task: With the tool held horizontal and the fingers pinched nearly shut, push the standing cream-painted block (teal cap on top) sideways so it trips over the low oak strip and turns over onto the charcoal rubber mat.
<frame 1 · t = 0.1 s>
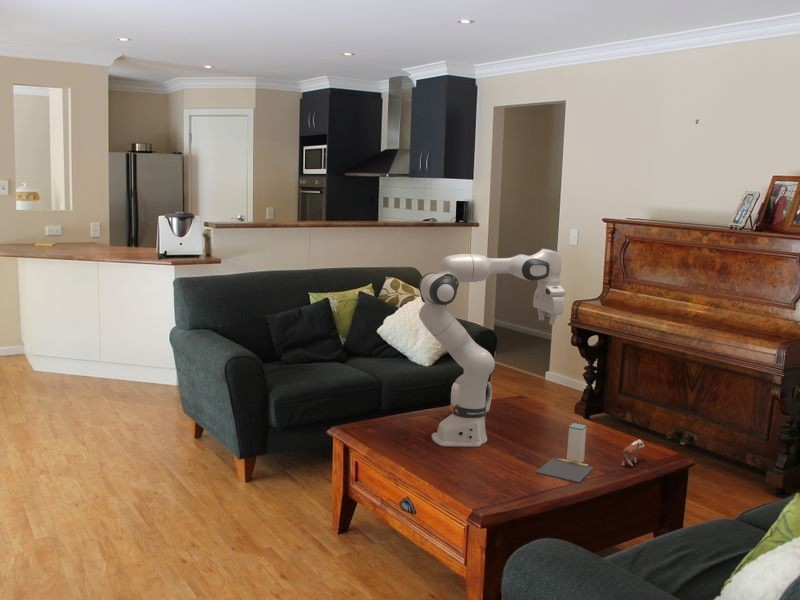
hand: (546, 322, 314), 48 cm above the table, tool pointing down, fingers open, 8 cm apart
cream block: (575, 461, 292), on the table
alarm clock: (470, 416, 344), on the table
charcoal rubber mat: (565, 470, 282), on the table
bull figurine: (631, 463, 293), on the table
oak stop strip: (572, 464, 289), resting on charcoal rubber mat
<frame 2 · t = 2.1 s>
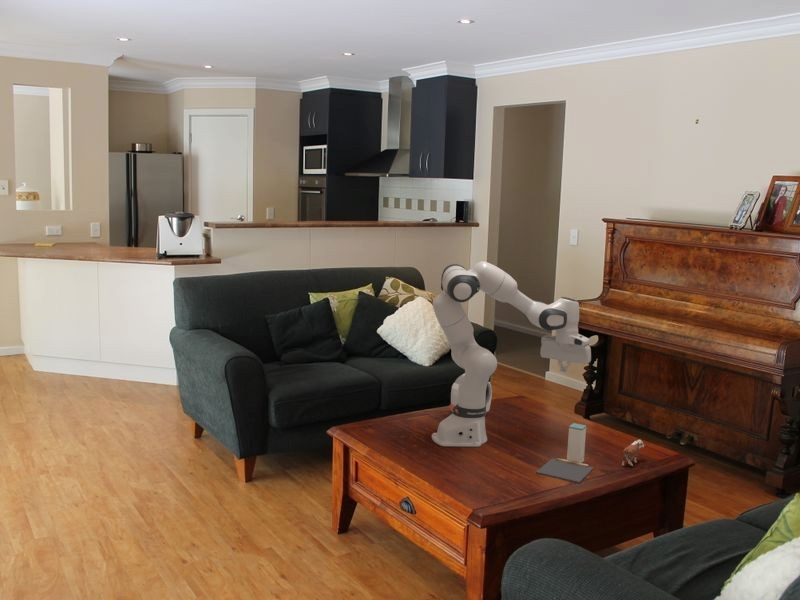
hand: (564, 371, 311), 29 cm above the table, tool pointing down, fingers closed
nothing on the table moved.
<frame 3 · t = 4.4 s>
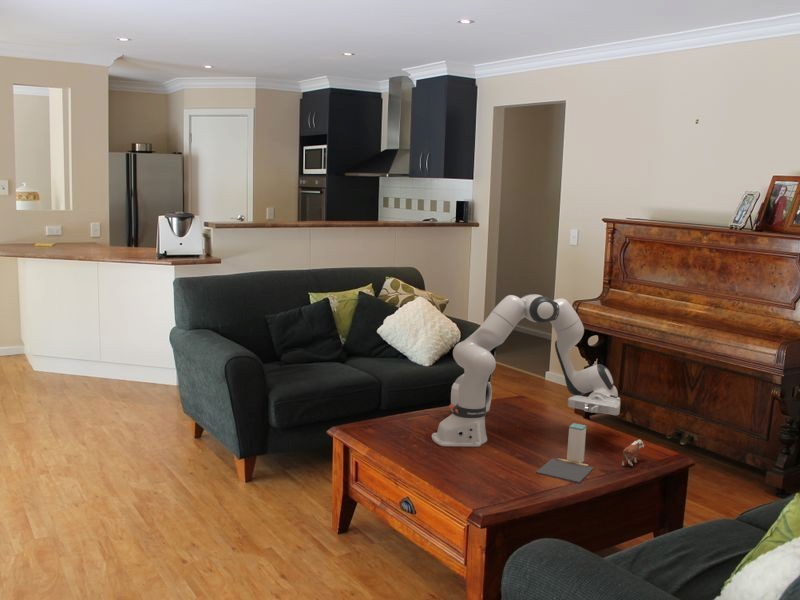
hand: (588, 410, 300), 17 cm above the table, tool horizontal, fingers closed
nothing on the table moved.
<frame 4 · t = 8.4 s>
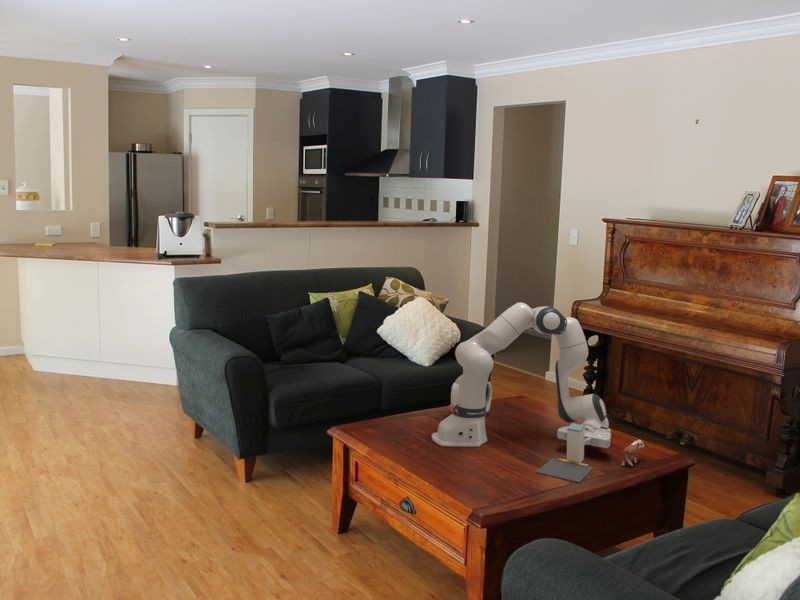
hand: (577, 442, 292), 7 cm above the table, tool horizontal, fingers closed on cream block, 2 cm apart
cream block: (575, 460, 292), on the table, tilted 9°, touching gripper
everything else where it was.
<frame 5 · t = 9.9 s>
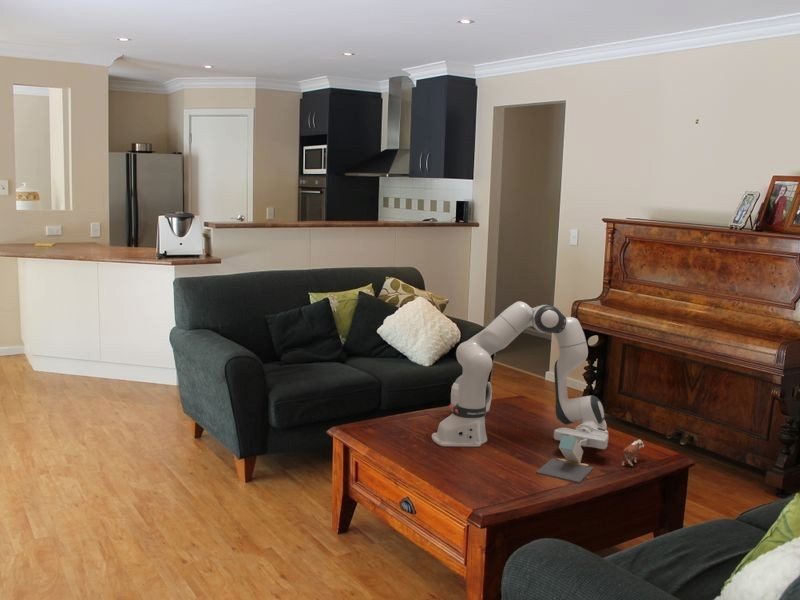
hand: (574, 442, 288), 8 cm above the table, tool horizontal, fingers closed on cream block, 2 cm apart
cream block: (575, 456, 291), point 2 cm above the table, tilted 53°, touching gripper, oak stop strip
everything else where it was.
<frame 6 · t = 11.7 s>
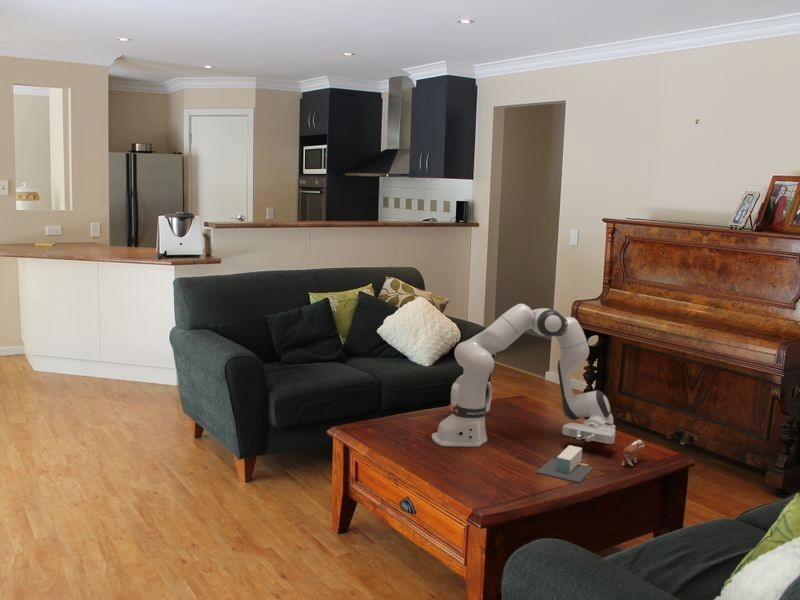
hand: (582, 438, 297), 7 cm above the table, tool horizontal, fingers closed
cream block: (575, 452, 291), point 4 cm above the table, tilted 93°, touching charcoal rubber mat, oak stop strip
everything else where it was.
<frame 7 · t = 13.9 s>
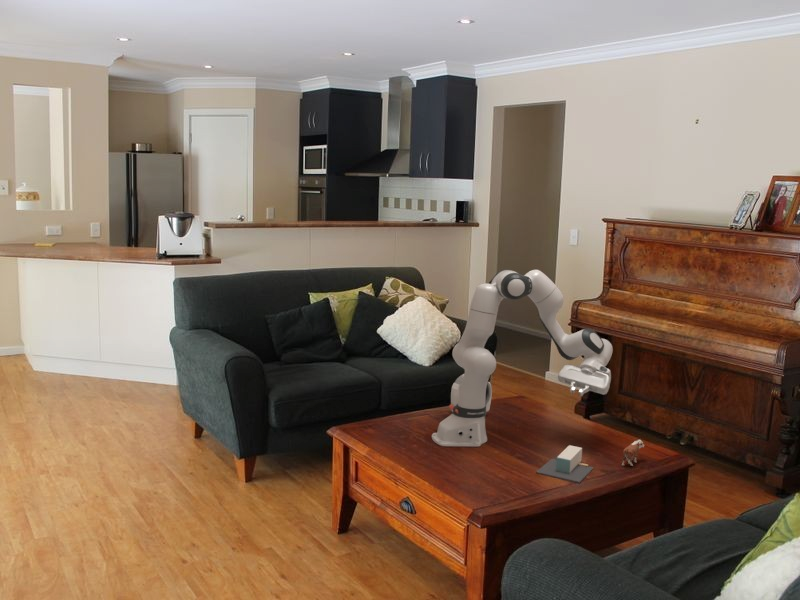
hand: (576, 393, 301), 23 cm above the table, tool tilted 60°, fingers closed
nothing on the table moved.
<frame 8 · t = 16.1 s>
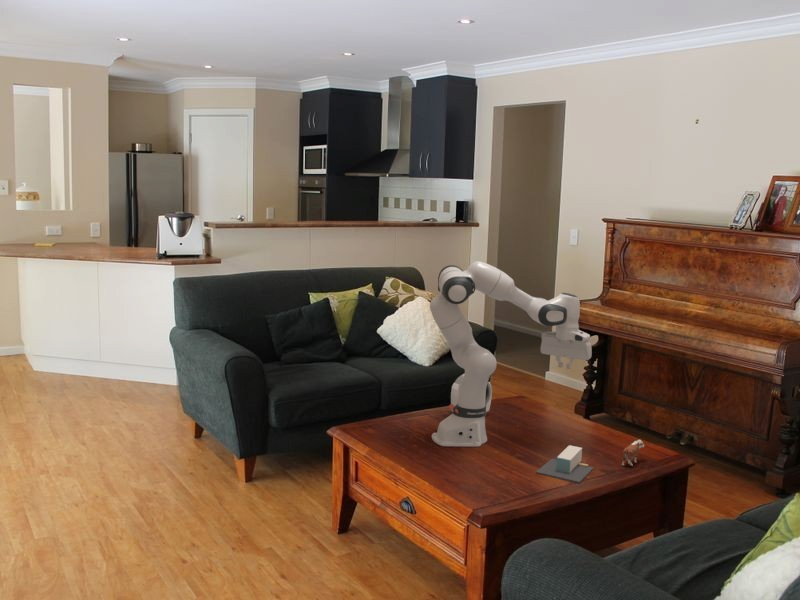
hand: (564, 367, 308), 31 cm above the table, tool pointing down, fingers closed
nothing on the table moved.
at the end: cream block tilted 93°; cream block inside the target area (5.3 cm from its centre), point 3.7 cm above the table; the gripper is holding nothing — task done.
